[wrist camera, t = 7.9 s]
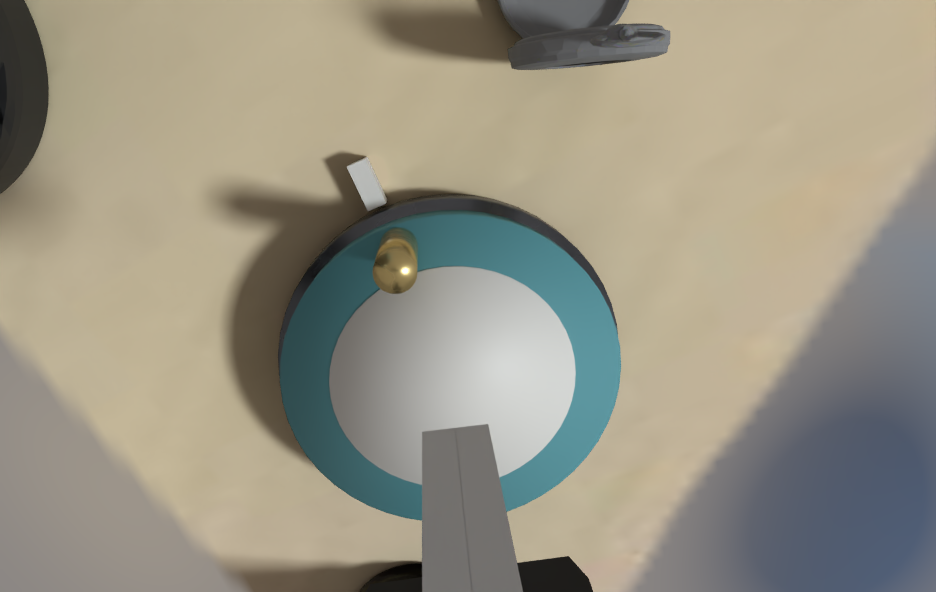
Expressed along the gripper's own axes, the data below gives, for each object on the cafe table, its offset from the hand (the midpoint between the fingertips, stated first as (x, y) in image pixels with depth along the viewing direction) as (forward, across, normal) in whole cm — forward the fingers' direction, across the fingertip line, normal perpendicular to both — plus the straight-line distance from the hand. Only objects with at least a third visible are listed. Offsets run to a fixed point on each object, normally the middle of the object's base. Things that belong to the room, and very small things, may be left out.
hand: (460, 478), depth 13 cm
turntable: (+17, 0, -6) cm, 18 cm away
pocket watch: (+19, +7, +12) cm, 24 cm away
